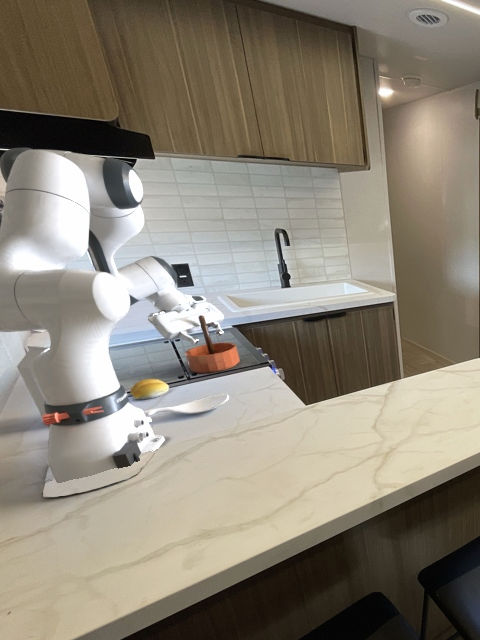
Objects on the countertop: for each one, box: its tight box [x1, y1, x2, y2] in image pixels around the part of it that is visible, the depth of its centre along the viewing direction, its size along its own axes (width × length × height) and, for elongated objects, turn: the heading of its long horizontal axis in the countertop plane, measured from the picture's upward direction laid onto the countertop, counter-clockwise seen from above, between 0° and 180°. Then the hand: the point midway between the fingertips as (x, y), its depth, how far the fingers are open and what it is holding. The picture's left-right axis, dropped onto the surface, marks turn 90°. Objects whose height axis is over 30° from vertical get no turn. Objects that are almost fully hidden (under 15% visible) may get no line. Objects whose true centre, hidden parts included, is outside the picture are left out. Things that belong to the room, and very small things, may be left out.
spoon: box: [142, 393, 230, 417], centre depth 100 cm, size 9×32×4 cm, turn 130°
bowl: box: [184, 342, 241, 374], centre depth 135 cm, size 14×14×6 cm
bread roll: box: [129, 378, 170, 401], centre depth 115 cm, size 8×9×4 cm
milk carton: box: [16, 345, 50, 417], centre depth 99 cm, size 7×7×19 cm
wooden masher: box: [198, 315, 215, 355], centre depth 133 cm, size 6×6×17 cm
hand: (209, 338), depth 132 cm, fingers open, 8 cm apart
